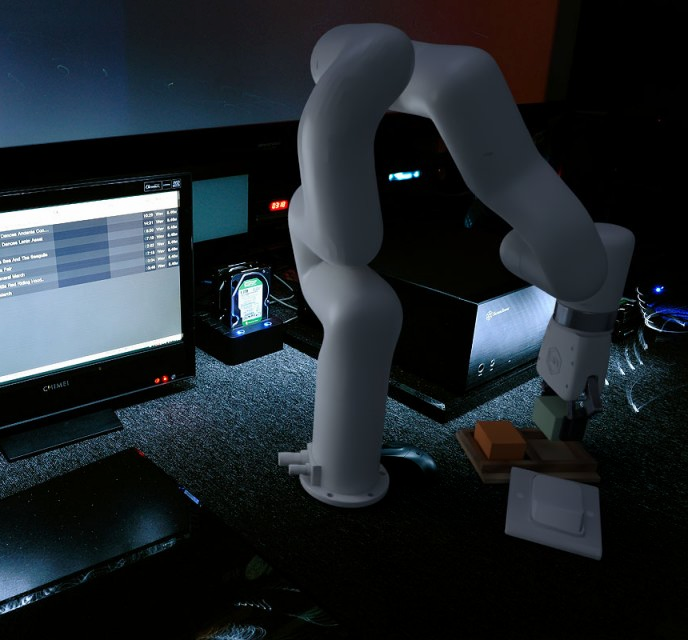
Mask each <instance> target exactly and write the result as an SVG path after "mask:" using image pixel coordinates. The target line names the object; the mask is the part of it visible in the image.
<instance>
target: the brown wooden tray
mask: <svg viewBox="0 0 688 640" xmlns="http://www.w3.org/2000/svg"><path fill="white" fill-rule="evenodd" d="M515 429H516V430H517V431H518V432H519V434H520V435H521V436H522V438H523V439H524V440H525V442H526V443H527V444H526V448H525V453H524V458H523V460H497V461H487V459H486V458H485V456H484V455H483V453H482V452H481V450H480V448H479V447H478V445H477V444H476V442H475V441H474V433H475V427H474V428H473V427H466V428H465V427H461V428H460V429H459V431H456V432H455V437H456V439H457V441H458V443H459V444H460V446H461V447H462V449H463V452H464V453H465V455H466V456H467V457H468V459H469V461H470V463H471V464H472V466H473V467H474V469H475V471H476V473H477V474H478V476H479V477H480V479H481V481H482V482H483V484H510V475H511V469H512V467H517V468H521V469H525V470H529V471H533V472H537V473H542V474H546V475H550V476H554V477H558V478H562V479H566V480H570V481H574V482H578V483H582V484H584V483H600V482H601V476H600V475H599V474H598V473H597V469H598V467H599V463H598V461H596V459H594V457H593V456H592V454H590V453H589V452H588V451H587V449H586V448H585V447H584V446H583V445H582V443H580V441H550V440H549V439H548V438H547V437H546V435H545V434H544V433H543V432H542V431H541V430H540V428H539V427H515Z"/></svg>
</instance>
